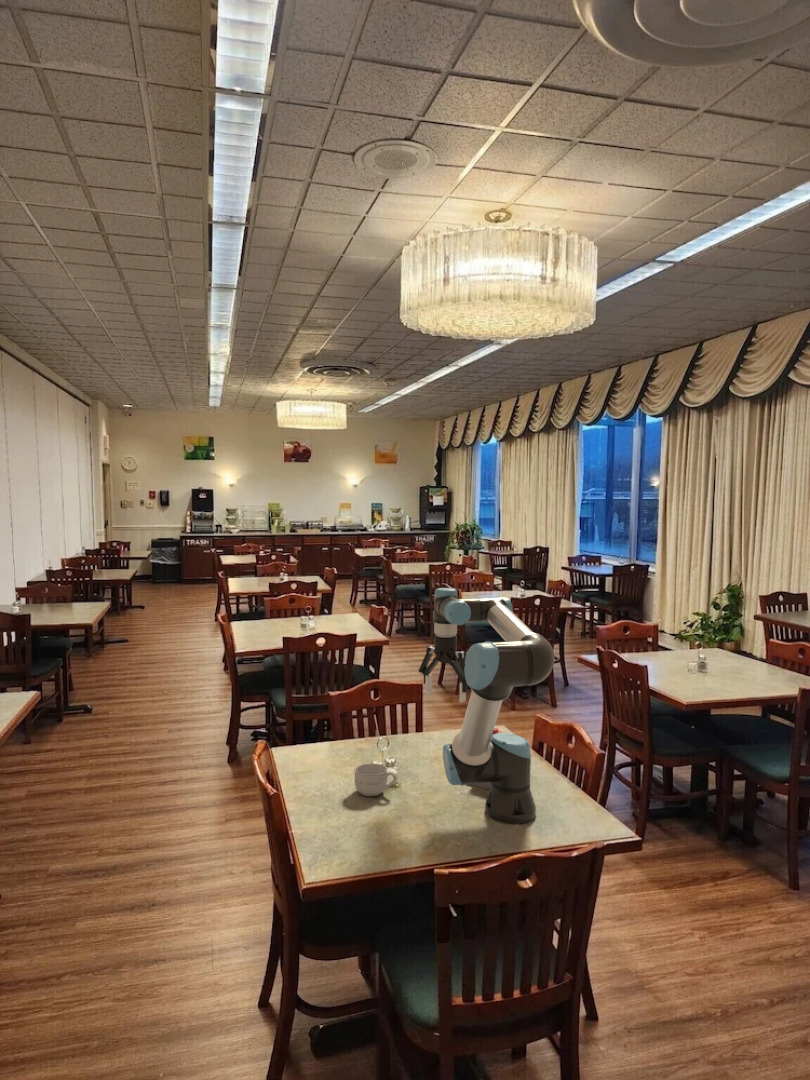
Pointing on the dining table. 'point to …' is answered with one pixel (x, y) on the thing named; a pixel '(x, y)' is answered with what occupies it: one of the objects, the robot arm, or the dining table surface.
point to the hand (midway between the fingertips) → (445, 697)
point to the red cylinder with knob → (495, 731)
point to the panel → (484, 785)
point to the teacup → (372, 779)
